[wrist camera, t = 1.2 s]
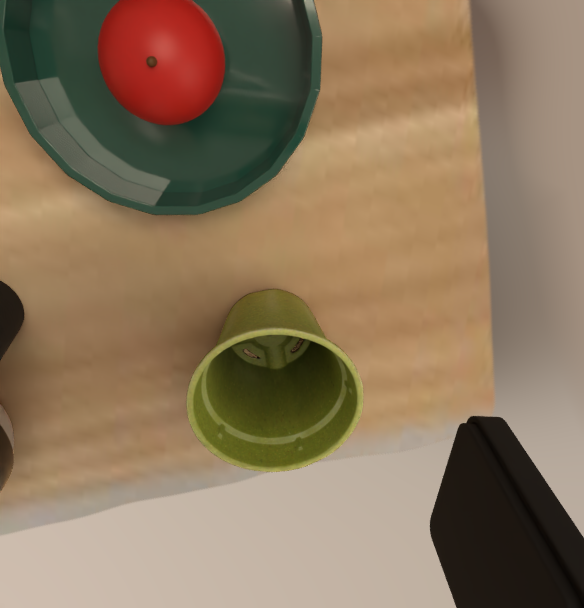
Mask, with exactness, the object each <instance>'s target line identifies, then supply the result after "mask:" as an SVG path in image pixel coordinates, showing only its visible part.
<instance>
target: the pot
mask: <svg viewBox="0 0 584 608" xmlns="http://www.w3.org/2000/svg"><path fill="white" fill-rule="evenodd" d="M118 1H119V0H0V67H1V72H2V77H3V81H4V84H5V87H6V89H7V91H8V93H9V95H10V97H11V99H12V101H13V103H14V105H15V106H16V108H17V110H18V112H19V114H20V116H21V118H22V120H23V122H24V124H25V126H26V128H27V129H28V131H29V133H30V135H31V136H32V137H33V138H34V139H35V140H36V142H37V143H38V144H39V145H40V146H41V147H42V148H43V149H44V150H45V151H46V153H47V154H48V155H49V156H50V157H51V158H52V159H53V160H54V161H55V162H56V163H57V165H58V166H59V167H60V168H61V169H62V170H63V171H64V172H65V173H66V174H67V175H68V176H70V177H71V178H73V179H74V180H76V181H78V182H79V183H81V184H82V185H84V186H85V187H87V188H89V189H90V190H92V191H93V192H95V193H96V194H98V195H100V196H101V197H103V198H104V199H106V200H107V201H110V202H113V203H116V204H119V205H123V206H126V207H129V208H133V209H136V210H139V211H142V212H146V213H149V214H152V215H198V214H199V215H200V214H203V213H206V212H209V211H212V210H215V209H219V208H222V207H225V206H228V205H231V204H234V203H237V202H240V201H242V200H243V199H245V198H246V197H247V196H249V195H250V194H252V193H253V192H254V191H256V190H257V189H258V188H260V187H261V186H263V185H264V184H265V183H267V182H268V181H269V180H271V179H272V178H274V177H275V176H276V175H277V174H278V173H279V171H280V170H281V168H282V167H283V166H284V164H285V163H286V162H287V160H288V159H289V157H290V156H291V155H292V153H293V152H294V151H295V149H296V148H297V147H298V145H299V144H300V142H301V141H302V140H303V137H304V136H305V133H306V130H307V127H308V124H309V121H310V118H311V116H312V113H313V110H314V107H315V104H316V101H317V98H318V95H319V92H320V82H321V58H322V32H321V28H320V24H319V20H318V15H317V11H316V7H315V3H314V0H192V1H194V2H195V3H196V4H197V5H199V6H200V7H201V8H202V9H203V10H204V11H205V12H206V13H207V15H208V16H209V17H210V19H211V20H212V22H213V23H214V25H215V27H216V29H217V31H218V33H219V35H220V38H221V41H222V44H223V48H224V54H225V74H224V79H223V83H222V86H221V89H220V91H219V94H218V96H217V97H216V99H215V100H214V102H213V104H212V105H211V106H210V107H209V108H208V109H207V110H206V111H205V112H204V113H203V114H201V115H200V116H198V117H197V118H195V119H193V120H190V121H188V122H185V123H182V124H177V125H160V124H154V123H151V122H148V121H145V120H143V119H140V118H139V117H137V116H135V115H133V114H132V113H130V112H129V111H128V110H126V109H125V108H124V107H123V106H122V105H121V104H120V103H119V102H118V101H117V100H116V98H115V97H114V96H113V95H112V93H111V92H110V90H109V88H108V87H107V85H106V83H105V81H104V78H103V76H102V73H101V69H100V66H99V60H98V38H99V34H100V29H101V27H102V24H103V21H104V20H105V18H106V16H107V14H108V13H109V11H110V10H111V9H112V7H113V6H114V5H115V4H116V3H117V2H118Z"/></svg>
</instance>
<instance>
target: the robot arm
mask: <svg viewBox="0 0 584 608" xmlns="http://www.w3.org/2000/svg"><path fill="white" fill-rule="evenodd" d="M430 532H431V537H432V541H433V543H434V546H435V549H436V552H437V555H438V557H439V560H440V563H441V566H442V568H443V571H444V574H445V577H446V580H447V582H448V585H449V588H450V591H451V593H452V596H453V599H454V602H455V605H456V607H457V608H584V538H583V536H582V535H581V533H580V532H579V530H578V529H577V527H576V526H575V524H574V523H573V521H572V520H571V518H570V517H569V515H568V514H567V512H566V511H565V509H564V508H563V506H562V505H561V504H560V502H559V500H558V499H557V497H556V496H555V494H554V493H553V492H552V490H551V488H550V487H549V486H548V484H547V483H546V481H545V479H544V478H543V477H542V475H541V473H540V472H539V471H538V469H537V468H536V466H535V465H534V463H533V462H532V460H531V459H530V457H529V456H528V454H527V453H526V451H525V450H524V448H523V447H522V445H521V444H520V442H519V441H518V439H517V438H516V436H515V435H514V433H513V432H512V430H511V429H510V427H509V426H508V424H507V423H506V422H505V420H503V418H500V417H485V416H472V417H470V418H469V419H468V420H467V423H462V424H460V426H459V428H458V430H457V433H456V437H455V440H454V443H453V447H452V450H451V453H450V457H449V460H448V463H447V466H446V469H445V473H444V476H443V479H442V483H441V486H440V489H439V492H438V496H437V499H436V502H435V505H434V509H433V512H432V515H431V520H430Z"/></svg>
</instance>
